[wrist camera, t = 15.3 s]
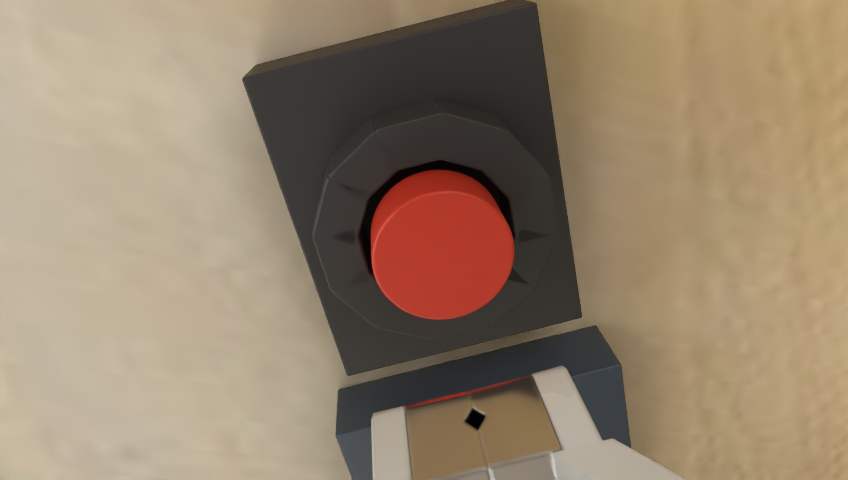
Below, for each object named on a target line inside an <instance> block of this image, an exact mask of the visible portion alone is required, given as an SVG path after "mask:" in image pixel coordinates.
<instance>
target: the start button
mask: <svg viewBox="0 0 848 480" xmlns="http://www.w3.org/2000/svg"><path fill="white" fill-rule="evenodd" d="M371 257H372V268H373V273H374V276H375V279H376V281H377V284H378V285H379V287H380V289H381V291H382V292H383V293H384V294H385V296H386V297H387V298H388V299H389V300H390V301H391V302H392V303H393V304H395V305H396V306H397V307H399V308H400V309H402V310H404V311H405V312H407V313H410V314H412V315H415V316H418V317H421V318H426V319H436V320H443V319H452V318H458V317H461V316H464V315H467V314H470V313H472V312H474V311H476V310H478V309H480V308H481V307H483V306H484V305H486V304H487V303H488V302H490V301H491V300H492V299H493V298H494V297H495V296H496V295H497V294H498V293H499V291H500V290H501V289H502V287H503V286H504V284H505V283H506V281H507V279H508V277H509V275H510V272H511V269H512V266H513V261H514V240H513V236H512V232H511V230H510V228H509V225H508V223H507V221H506V220H505V218H504V216H503V214H502V212H501V210H500V209H499V207H498V205H497V203H496V201H495V200H494V198H493V197H492V195H491V194H490V193H489V191H488V190H487V189H486V188H485V187H484V186H483V185H482V184H481V183H479V182H478V181H476V180H475V179H473V178H471V177H469V176H467V175H465V174H462V173H459V172H456V171H451V170H440V169H439V170H428V171H423V172H419V173H416V174H413V175H411V176H409V177H407V178H405V179H403V180H401V181H400V182H398V183H397V184H396V185H394V186H393V187H392V188H391V189H390V190H389V191H388V192H387V193H386V194H385V195H384V197H383V198H382V199H381V201H380V202H379V204H378V206H377V208H376V210H375V213H374V216H373V219H372V224H371Z"/></svg>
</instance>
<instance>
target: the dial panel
mask: <svg viewBox="0 0 848 480" xmlns="http://www.w3.org/2000/svg"><path fill="white" fill-rule="evenodd" d="M559 366H564V367H565V368H566V369H567V370H568V372H569V374H570V376H571V378H572V380H573V382H574V384H575V386H576V388H577V390H578V392H579V394H580V396H581V398H582V400H583V402H584V404H585V406H586V408H587V410H588V412H589V414H590V416H591V418H592V420H593V422H594V424H595V426H596V428H597V430H598V432H599V434H600V436H601V438H602V440H608V439H612V438H613V439H615V440H617V441H619V442H620V443H622V444H624V445H626V446H628V447H629V448H631V444H630V436H629V427H628V419H627V410H626V402H625V393H624V385H623V376H622V368H621V364H620V362H619V361H618V359H617V358H616V356H615V354H614V353H613V351H612V350H611V348H610V347H609V345H608V343H607V342H606V340H605V339H604V337H603V336H602V334H601V332H600V331H599V329H598V328H597V326H592V327H588V328H584V329H580V330H576V331H572V332H568V333H564V334H560V335H556V336H552V337H548V338H544V339H540V340H536V341H532V342H528V343H524V344H520V345H516V346H512V347H508V348H504V349H500V350H496V351H492V352H488V353H484V354H480V355H476V356H472V357H468V358H464V359H460V360H456V361H452V362H448V363H444V364H440V365H436V366H432V367H428V368H424V369H420V370H416V371H412V372H408V373H404V374H400V375H396V376H392V377H388V378H384V379H380V380H376V381H372V382H367V383H363V384H359V385H355V386H351V387H347V388H343V389H339V390H338V401H337V419H336V438H337V441H338V443H339V446H340V448H341V451H342V454H343V456H344V459H345V461H346V464H347V467H348V469H349V472H350V474H351V477H352V480H373V468H372V432H371V419H372V416H373V413H375V412H380V411H384V410H388V409H393V408H397V407H401V406H406V405H408V404H412V403H417V402H421V401H426V400H430V399H434V398H439V397H443V396H448V395H452V394H456V393H461V392H465V391H470V390H474V389H478V388H482V387H486V386H490V385H493V384H497V383H501V382H505V381H509V380H513V379H517V378H521V377H525V376H529V375H531V374H533V373H537V372H540V371H544V370H548V369H551V368H555V367H559Z"/></svg>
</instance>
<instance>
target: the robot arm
mask: <svg viewBox="0 0 848 480" xmlns="http://www.w3.org/2000/svg"><path fill="white" fill-rule="evenodd" d="M371 432H372V468H373V480H687V479H685V478H684V477H682V476H680V475H678V474H676V473H675V472H673V471H671V470H669V469H667V468H666V467H664V466H662V465H660V464H658V463H657V462H655V461H653V460H651V459H649V458H648V457H646V456H644V455H642V454H640V453H639V452H637V451H635V450H633V449H631V448H629V447H628V446H626V445H624V444H622V443H620V442H619V441H617V440H615V439H613V438H612V439H608V440H602V438H601V436H600V434H599V432H598V430H597V428H596V426H595V424H594V422H593V420H592V418H591V416H590V414H589V412H588V410H587V408H586V406H585V404H584V402H583V400H582V398H581V396H580V394H579V392H578V390H577V388H576V386H575V384H574V382H573V380H572V378H571V376H570V374H569V372H568V370H567V369H566V368H565V367H564V366H559V367H555V368H551V369H548V370H544V371H540V372H537V373H533V374H531V375H529V376H525V377H521V378H517V379H513V380H509V381H505V382H501V383H497V384H493V385H490V386H486V387H482V388H478V389H474V390H470V391H465V392H461V393H456V394H452V395H448V396H443V397H439V398H434V399H430V400H426V401H421V402H417V403H412V404H408V405H406V406H401V407H397V408H393V409H388V410H384V411H380V412H375V413H373V416H372V419H371Z"/></svg>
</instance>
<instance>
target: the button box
mask: <svg viewBox="0 0 848 480" xmlns="http://www.w3.org/2000/svg"><path fill="white" fill-rule="evenodd" d="M242 81H243V83H244V86H245V89H246V92H247V95H248V97H249V100H250V103H251V106H252V109H253V111H254V114H255V117H256V120H257V123H258V126H259V128H260V131H261V134H262V137H263V140H264V142H265V145H266V148H267V151H268V154H269V156H270V159H271V162H272V165H273V168H274V171H275V173H276V176H277V179H278V182H279V185H280V187H281V190H282V193H283V196H284V199H285V202H286V204H287V207H288V210H289V213H290V216H291V218H292V221H293V224H294V227H295V230H296V232H297V235H298V238H299V241H300V244H301V247H302V249H303V252H304V255H305V258H306V261H307V263H308V266H309V269H310V272H311V275H312V278H313V280H314V283H315V286H316V289H317V292H318V294H319V297H320V300H321V303H322V306H323V308H324V311H325V314H326V317H327V320H328V323H329V325H330V328H331V331H332V334H333V337H334V339H335V342H336V345H337V348H338V351H339V353H340V356H341V359H342V362H343V365H344V368H345V370H346V373H347V375H348V376H350V375H354V374H358V373H362V372H366V371H370V370H374V369H378V368H382V367H386V366H390V365H394V364H398V363H402V362H406V361H410V360H414V359H418V358H422V357H426V356H430V355H434V354H438V353H442V352H446V351H450V350H454V349H458V348H462V347H466V346H470V345H474V344H478V343H482V342H486V341H490V340H494V339H498V338H502V337H506V336H510V335H514V334H518V333H522V332H526V331H530V330H534V329H538V328H542V327H546V326H550V325H554V324H558V323H562V322H566V321H570V320H574V319H578V318H581V317H582V312H581V306H580V299H579V292H578V285H577V278H576V271H575V264H574V257H573V250H572V244H571V237H570V230H569V223H568V216H567V209H566V202H565V195H564V188H563V182H562V175H561V168H560V161H559V154H558V147H557V140H556V133H555V126H554V120H553V113H552V106H551V99H550V92H549V85H548V78H547V71H546V65H545V58H544V51H543V44H542V37H541V30H540V23H539V16H538V9H537V4H536V3H534V2H530V1H526V0H506V1H502V2H499V3H495V4H491V5H487V6H483V7H479V8H475V9H471V10H467V11H464V12H460V13H456V14H452V15H448V16H444V17H440V18H436V19H432V20H429V21H425V22H421V23H417V24H413V25H409V26H405V27H401V28H397V29H394V30H390V31H386V32H382V33H378V34H374V35H370V36H366V37H362V38H359V39H355V40H351V41H347V42H343V43H339V44H335V45H331V46H327V47H324V48H320V49H316V50H312V51H308V52H304V53H300V54H296V55H292V56H289V57H285V58H281V59H277V60H273V61H269V62H265V63H261V64H257V65H255V66H254V67H253V68H252V69H251V70H250V71H249V72H248V73H247V74H246V75H245V76H244V77H243V78H242ZM439 169H440V170H451V171H456V172H459V173H462V174H465V175H467V176H469V177H471V178H473V179H475V180H476V181H478V182H479V183H481V184H482V185H483V186H484V187H485V188H486V189H487V190H488V191H489V193H490V194H491V195H492V197H493V198H494V200H495V201H496V203H497V205H498V207H499V209H500V210H501V212H502V214H503V216H504V218H505V220H506V221H507V223H508V225H509V228H510V230H511V232H512V236H513V240H514V261H513V266H512V269H511V272H510V275H509V277H508V279H507V281H506V283H505V284H504V286H503V287H502V289H501V290H500V291H499V293H498V294H497V295H496V296H495V297H494V298H493V299H492V300H491V301H490V302H488V303H487V304H486V305H484V306H483V307H481V308H480V309H478V310H476V311H474V312H472V313H470V314H467V315H464V316H461V317H458V318H452V319H443V320H436V319H426V318H421V317H418V316H415V315H412V314H410V313H407V312H405V311H404V310H402V309H400V308H399V307H397V306H396V305H395V304H393V303H392V302H391V301H390V300H389V299H388V298H387V297H386V296H385V294H384V293H383V292H382V291H381V289H380V287H379V285H378V284H377V281H376V279H375V276H374V273H373V268H372V257H371V224H372V219H373V216H374V213H375V210H376V208H377V206H378V204H379V202H380V201H381V199H382V198H383V197H384V195H385V194H386V193H387V192H388V191H389V190H390V189H391V188H392V187H393V186H394V185H396V184H397V183H398V182H400V181H401V180H403V179H405V178H407V177H409V176H411V175H413V174H416V173H419V172H423V171H428V170H439Z"/></svg>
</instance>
